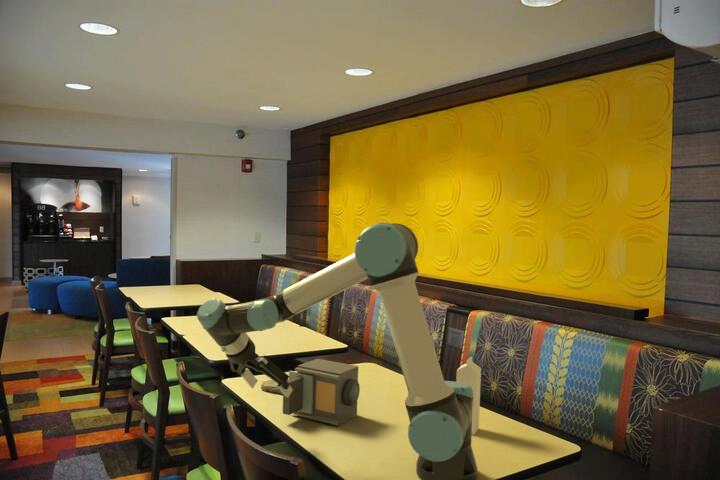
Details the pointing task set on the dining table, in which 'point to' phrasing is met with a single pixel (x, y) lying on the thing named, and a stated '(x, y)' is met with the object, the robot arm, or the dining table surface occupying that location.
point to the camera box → (332, 391)
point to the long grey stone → (271, 387)
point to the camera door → (299, 394)
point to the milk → (472, 377)
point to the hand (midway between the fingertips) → (271, 388)
